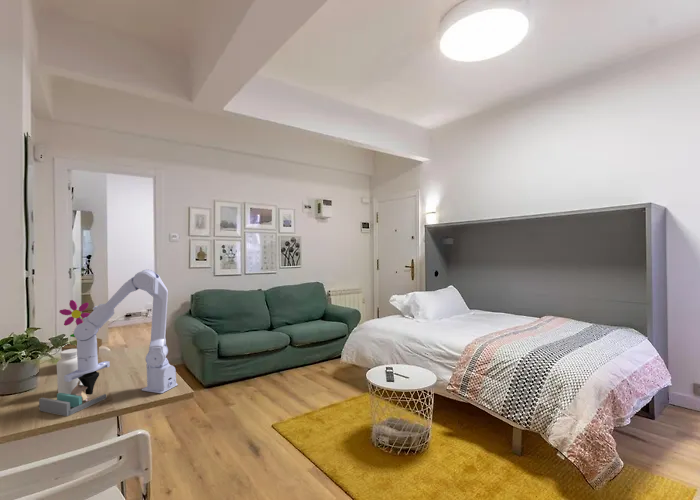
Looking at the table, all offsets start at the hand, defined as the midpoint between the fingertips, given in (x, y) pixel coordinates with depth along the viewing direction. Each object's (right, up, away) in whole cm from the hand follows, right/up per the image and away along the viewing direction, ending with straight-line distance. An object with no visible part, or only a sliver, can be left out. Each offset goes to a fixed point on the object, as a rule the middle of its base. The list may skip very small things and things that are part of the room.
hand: (89, 394), depth 126 cm
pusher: (-2, -1, -6) cm, 7 cm away
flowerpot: (-26, -1, +32) cm, 41 cm away
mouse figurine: (-3, -2, -3) cm, 4 cm away
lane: (-1, -2, -4) cm, 5 cm away
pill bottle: (-11, -1, +6) cm, 12 cm away
